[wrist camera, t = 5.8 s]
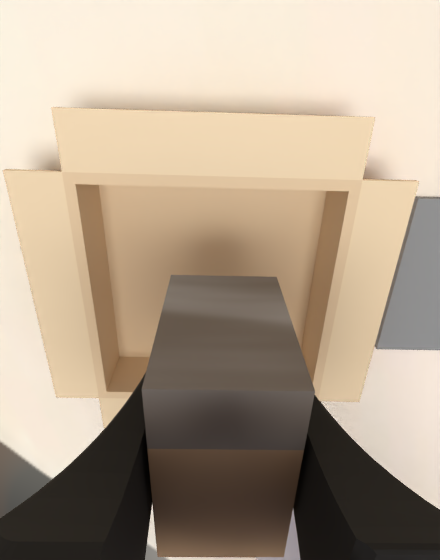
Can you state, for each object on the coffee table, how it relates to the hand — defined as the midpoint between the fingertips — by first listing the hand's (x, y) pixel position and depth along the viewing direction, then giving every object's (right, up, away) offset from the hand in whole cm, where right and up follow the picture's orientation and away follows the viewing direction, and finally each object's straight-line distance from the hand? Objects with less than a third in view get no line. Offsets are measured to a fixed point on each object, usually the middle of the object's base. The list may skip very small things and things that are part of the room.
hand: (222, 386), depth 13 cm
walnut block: (0, +1, +2) cm, 2 cm away
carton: (-1, +4, +8) cm, 9 cm away
